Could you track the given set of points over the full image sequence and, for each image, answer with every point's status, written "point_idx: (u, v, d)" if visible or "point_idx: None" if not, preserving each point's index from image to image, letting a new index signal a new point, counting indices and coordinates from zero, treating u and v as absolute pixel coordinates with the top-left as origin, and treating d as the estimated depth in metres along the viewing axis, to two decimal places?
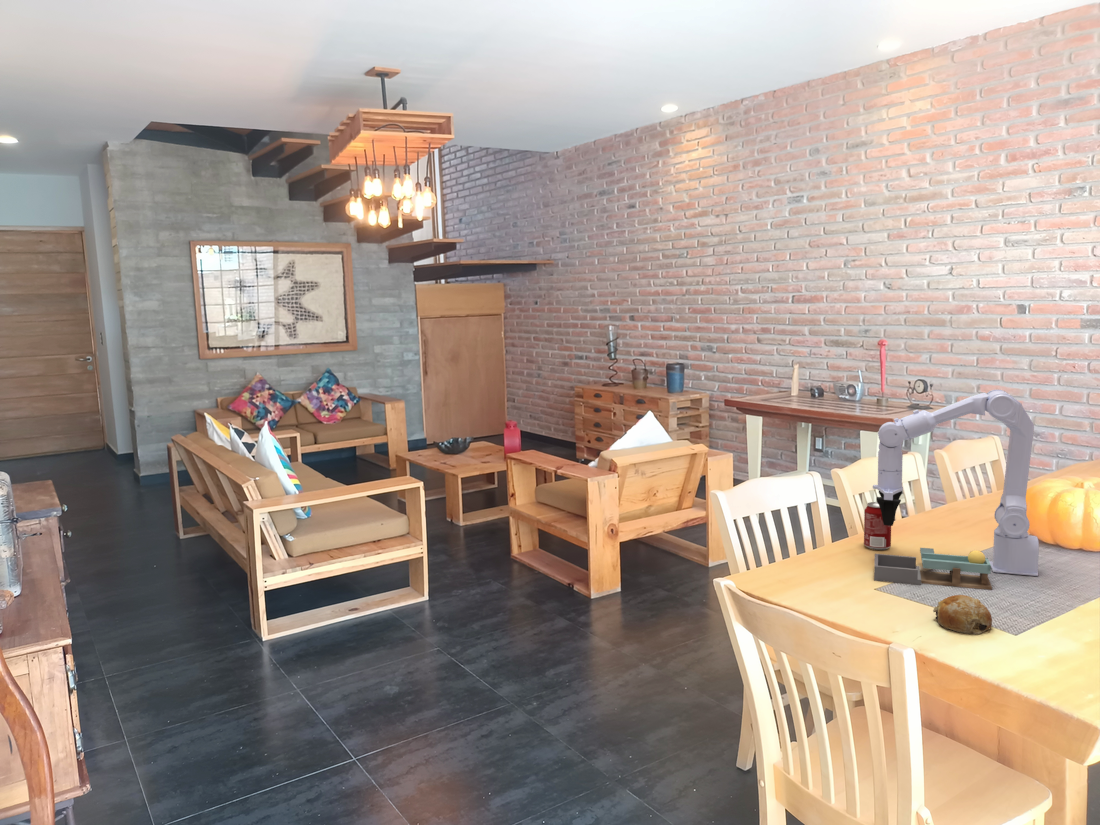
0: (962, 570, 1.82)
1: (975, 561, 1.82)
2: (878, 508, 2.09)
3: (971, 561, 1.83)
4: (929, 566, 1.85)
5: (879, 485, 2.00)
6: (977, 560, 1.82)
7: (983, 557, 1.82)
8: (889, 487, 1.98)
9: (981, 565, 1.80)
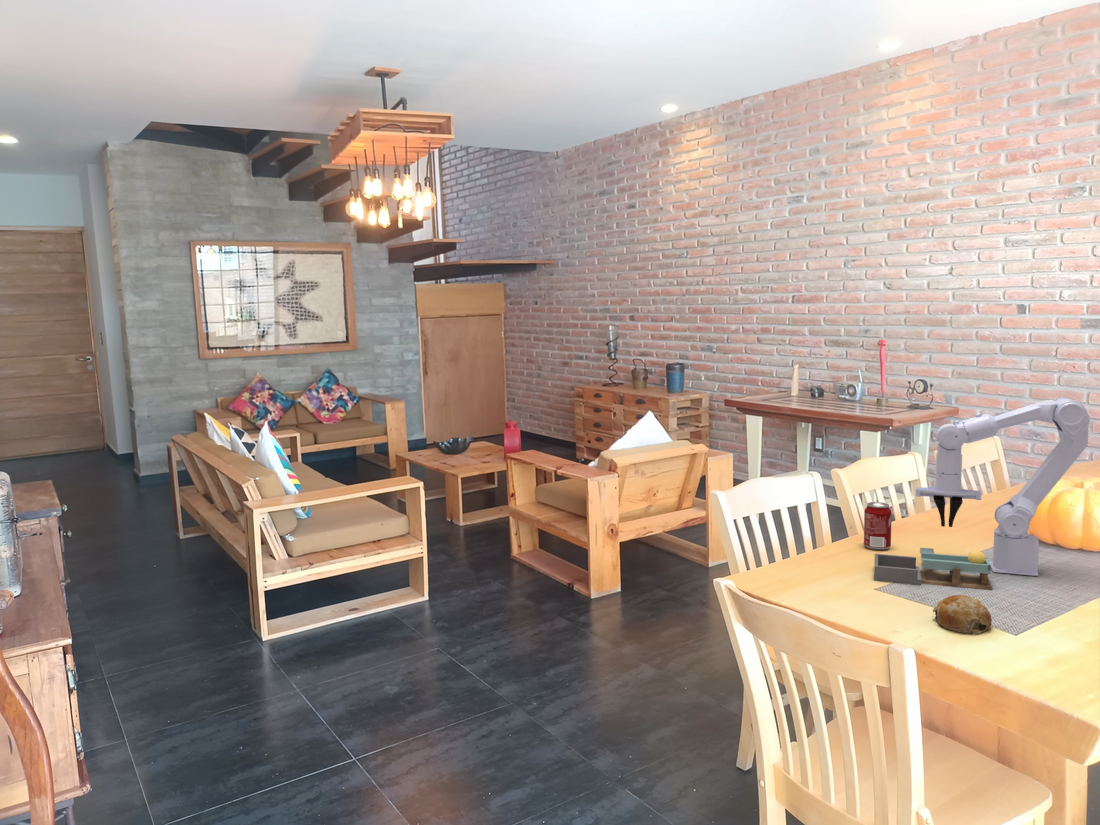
0: (962, 570, 1.82)
1: (975, 561, 1.82)
2: (878, 508, 2.09)
3: (971, 561, 1.83)
4: (929, 566, 1.85)
5: None
6: (977, 560, 1.82)
7: (983, 557, 1.82)
8: (935, 487, 1.97)
9: (981, 565, 1.80)
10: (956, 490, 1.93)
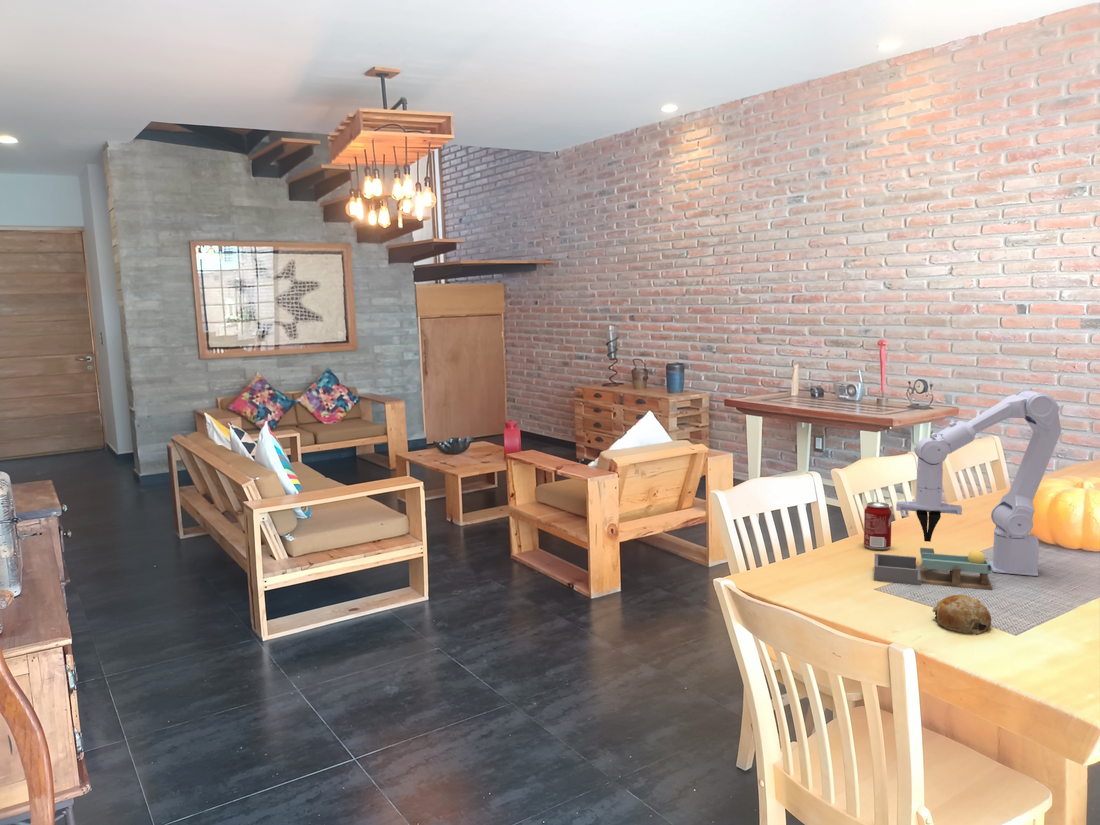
0: (962, 570, 1.82)
1: (975, 561, 1.82)
2: (878, 508, 2.09)
3: (971, 561, 1.83)
4: (929, 566, 1.85)
5: None
6: (977, 560, 1.82)
7: (983, 557, 1.82)
8: (915, 502, 1.95)
9: (981, 565, 1.80)
10: (937, 504, 1.91)
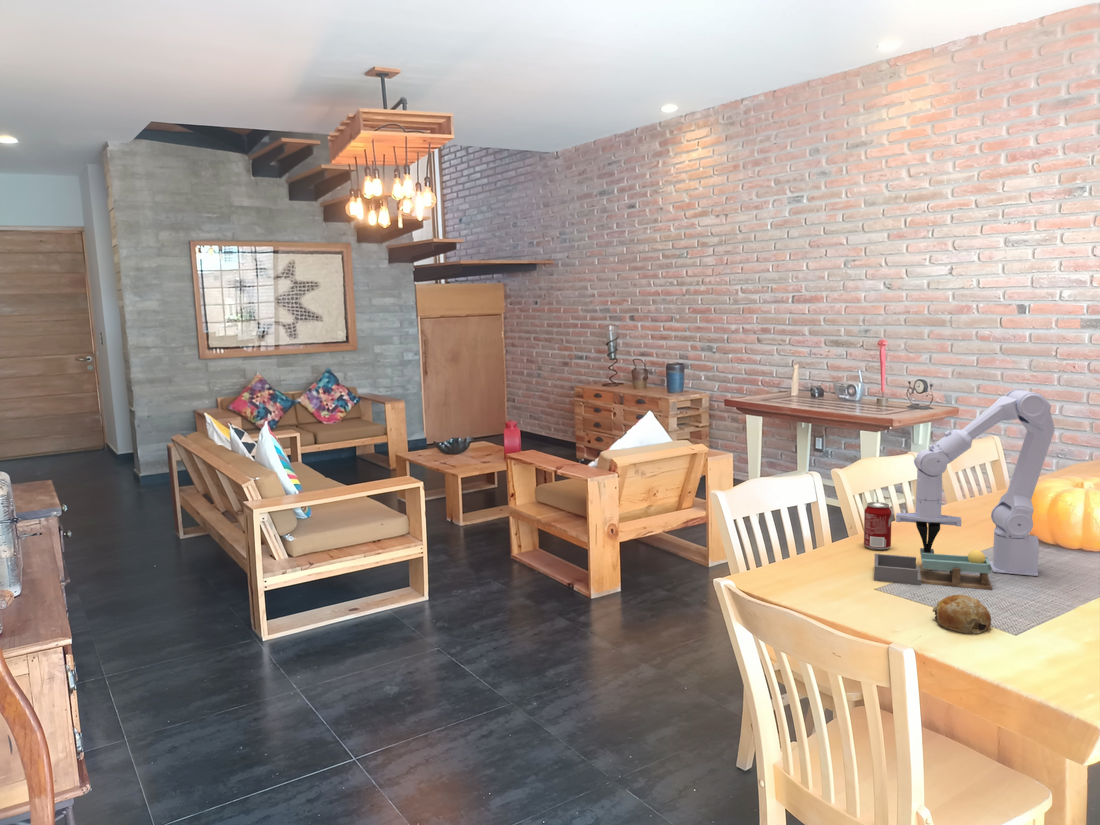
0: (962, 570, 1.82)
1: (975, 561, 1.82)
2: (878, 508, 2.09)
3: (971, 561, 1.83)
4: (929, 566, 1.85)
5: None
6: (977, 560, 1.82)
7: (983, 557, 1.82)
8: (915, 513, 1.95)
9: (981, 565, 1.80)
10: (936, 516, 1.92)
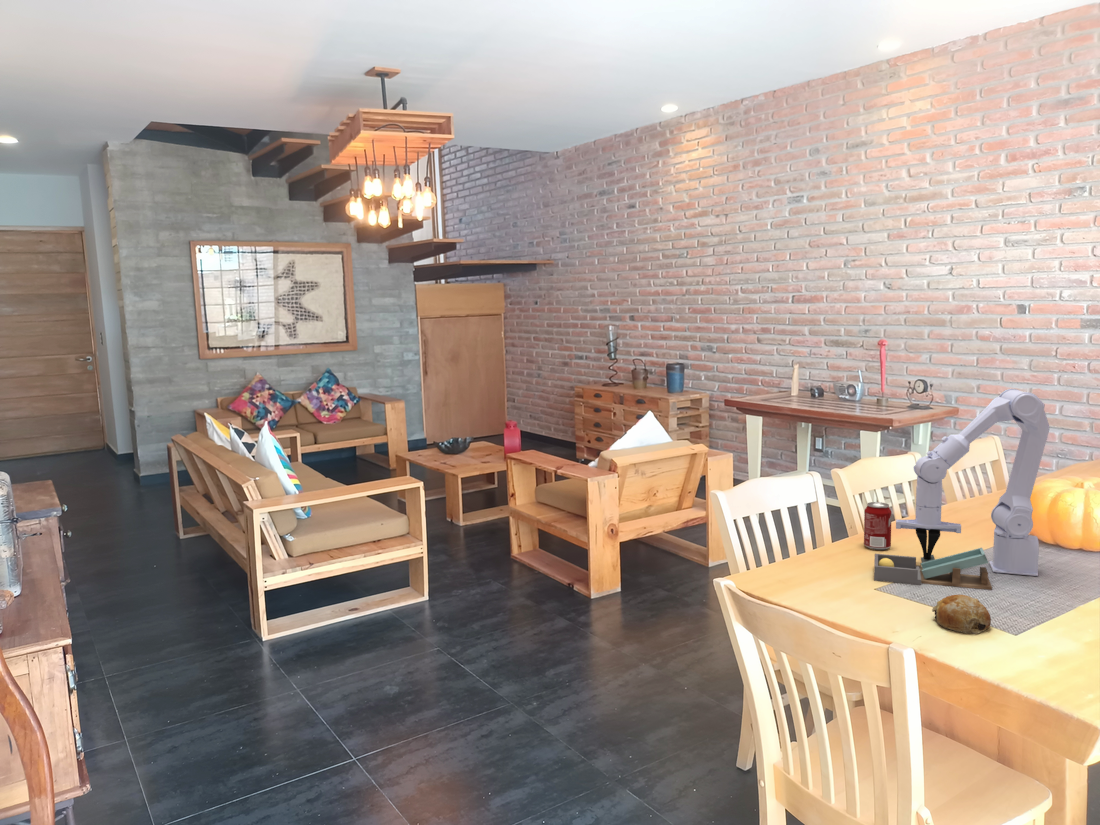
0: (961, 568, 1.82)
1: None
2: (878, 508, 2.09)
3: (881, 564, 1.90)
4: (930, 575, 1.85)
5: None
6: None
7: None
8: (915, 520, 1.96)
9: (976, 557, 1.81)
10: (936, 523, 1.92)
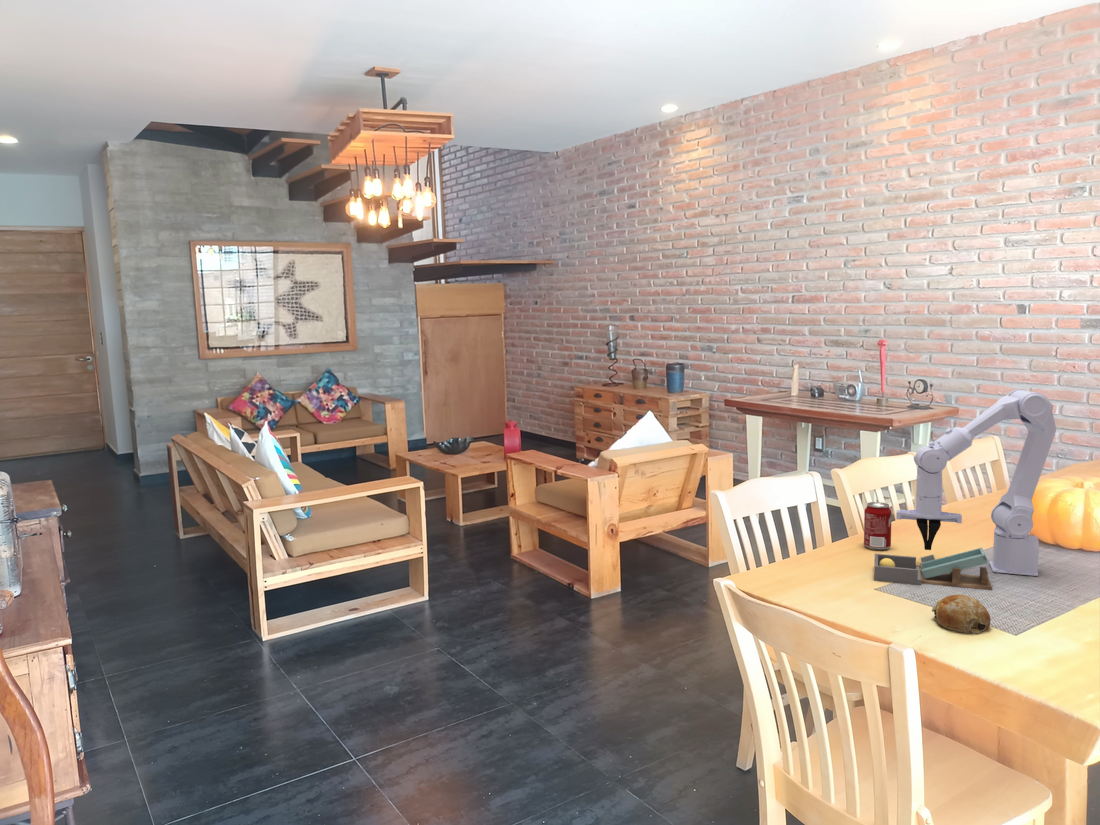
0: (961, 568, 1.82)
1: None
2: (878, 508, 2.09)
3: (882, 563, 1.90)
4: (930, 575, 1.85)
5: None
6: None
7: None
8: (915, 510, 1.95)
9: (976, 557, 1.81)
10: (937, 513, 1.92)
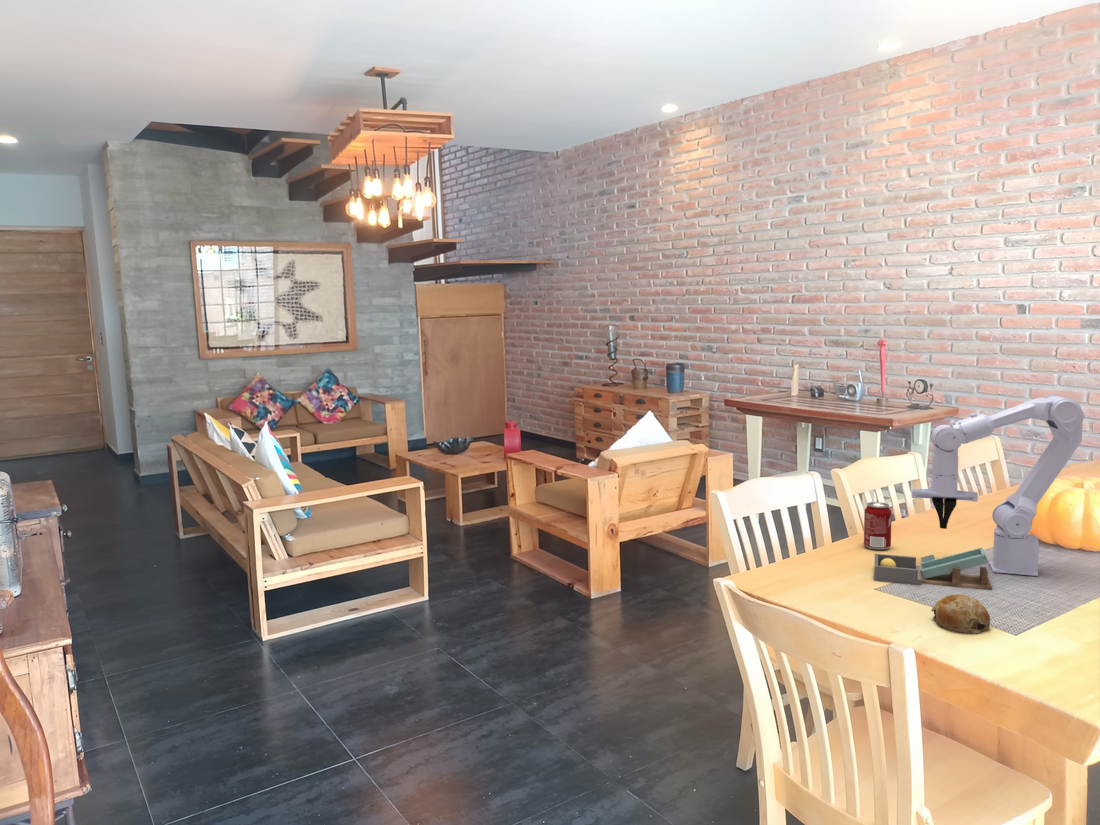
0: (961, 568, 1.82)
1: None
2: (878, 508, 2.09)
3: (883, 563, 1.90)
4: (930, 575, 1.85)
5: None
6: None
7: None
8: (931, 489, 1.95)
9: (976, 557, 1.81)
10: (953, 491, 1.91)
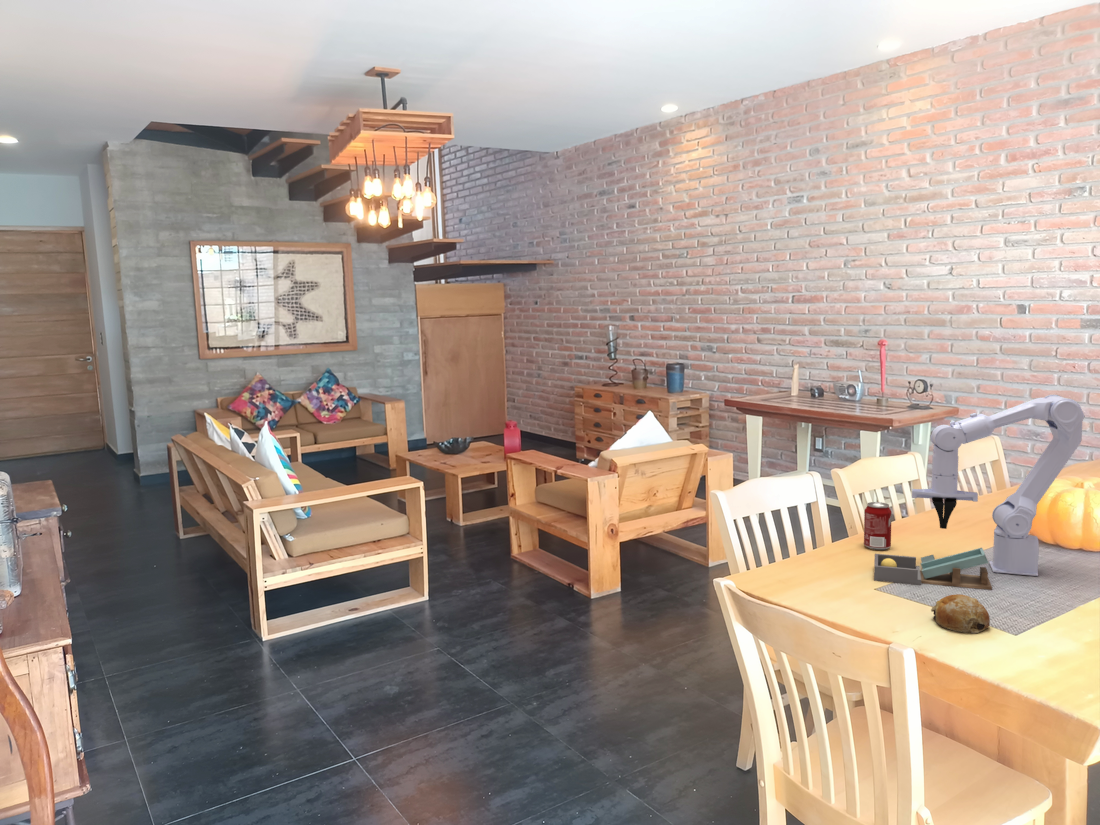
0: (961, 568, 1.82)
1: None
2: (878, 508, 2.09)
3: (885, 563, 1.90)
4: (930, 575, 1.85)
5: None
6: None
7: None
8: (931, 489, 1.95)
9: (976, 557, 1.81)
10: (953, 491, 1.91)
